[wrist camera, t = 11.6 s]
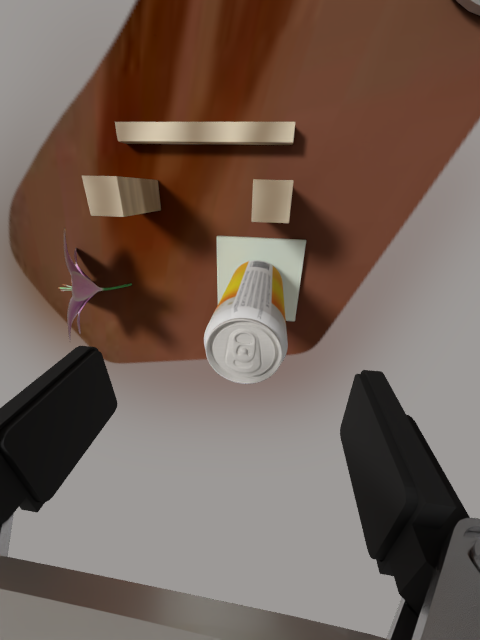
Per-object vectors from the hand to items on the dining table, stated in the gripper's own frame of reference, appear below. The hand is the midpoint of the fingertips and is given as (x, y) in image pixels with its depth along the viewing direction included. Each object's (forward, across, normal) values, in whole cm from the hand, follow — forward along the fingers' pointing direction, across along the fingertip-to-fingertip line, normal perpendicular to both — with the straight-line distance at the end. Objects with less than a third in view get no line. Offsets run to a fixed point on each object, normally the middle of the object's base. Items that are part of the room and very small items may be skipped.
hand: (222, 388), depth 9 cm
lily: (+23, +21, +4) cm, 31 cm away
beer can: (+22, 0, +4) cm, 23 cm away
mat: (+23, 0, +4) cm, 23 cm away
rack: (+23, +6, -8) cm, 25 cm away
